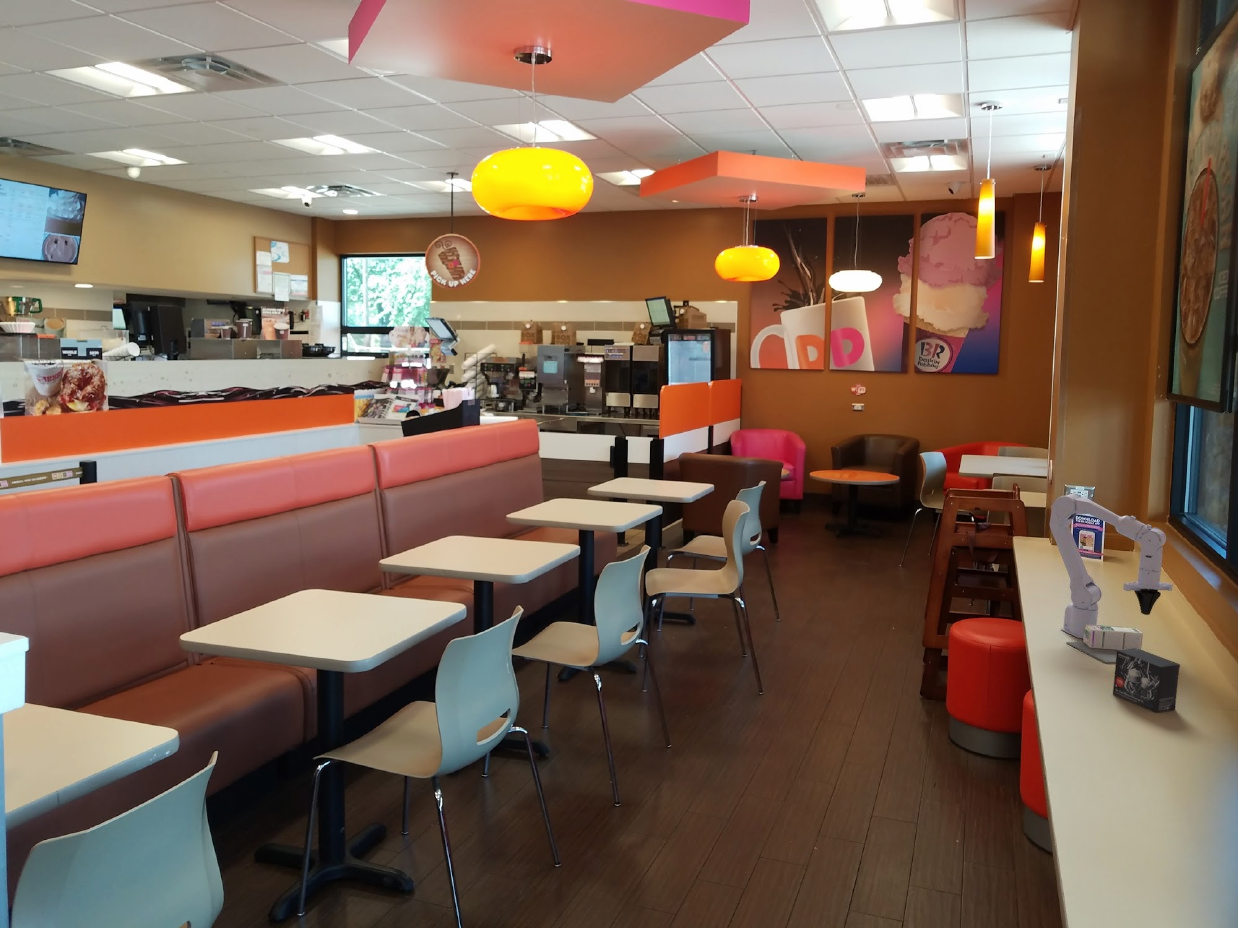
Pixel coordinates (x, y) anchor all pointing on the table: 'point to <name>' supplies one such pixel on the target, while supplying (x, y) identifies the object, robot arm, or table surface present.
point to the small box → (1146, 679)
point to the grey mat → (1096, 652)
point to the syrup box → (1112, 637)
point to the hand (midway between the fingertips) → (1145, 613)
